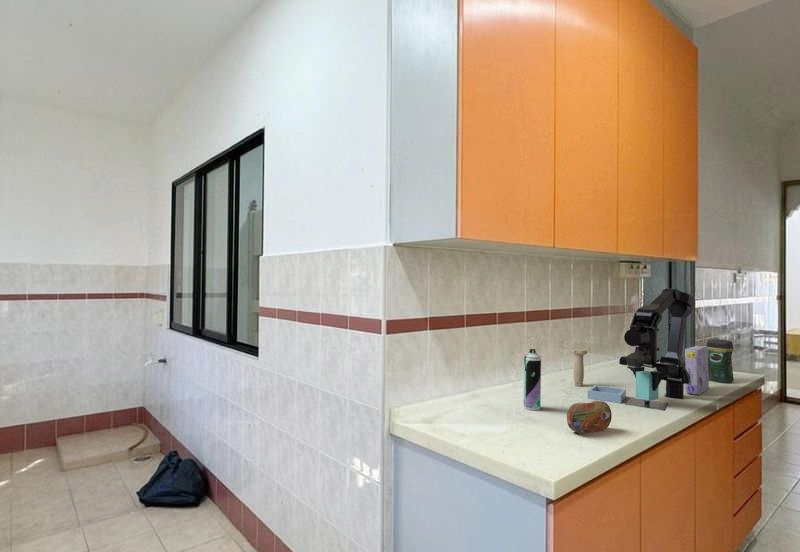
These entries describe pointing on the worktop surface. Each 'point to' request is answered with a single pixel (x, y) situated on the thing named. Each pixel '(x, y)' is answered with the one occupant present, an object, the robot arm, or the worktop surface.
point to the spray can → (532, 380)
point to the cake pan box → (697, 369)
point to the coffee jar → (720, 360)
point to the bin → (607, 394)
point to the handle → (578, 366)
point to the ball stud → (647, 404)
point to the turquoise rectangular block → (645, 386)
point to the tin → (589, 417)
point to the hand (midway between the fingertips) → (647, 389)
